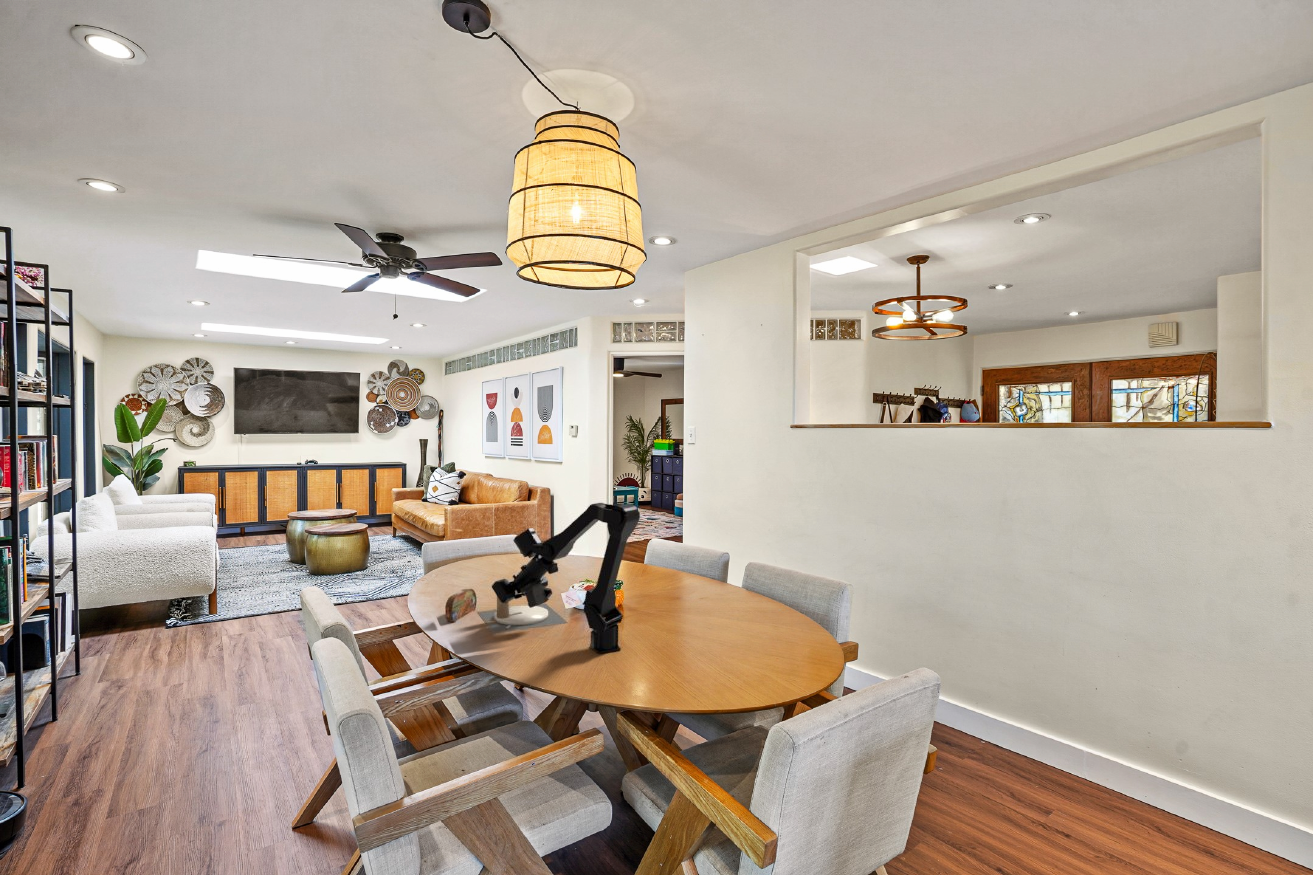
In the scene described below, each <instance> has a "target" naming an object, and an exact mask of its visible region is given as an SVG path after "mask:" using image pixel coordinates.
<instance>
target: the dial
mask: <svg viewBox="0 0 1313 875" xmlns="http://www.w3.org/2000/svg"><path fill="white" fill-rule="evenodd" d="M496 610H497V611H496V612H495V614H494V620H495V621H496V622H498V623H500V624H505V625H529V624H535V623H539V622H542V621H544V620H546V619H547V618H548V610H547V609H545V608H542V607H538V606H535V607H532V608H530V607H529V606H528V604H527V605H514V606H513V605H512V606H510V601H509V602H508V603H502V602H501V601H500V600H499V598H498V597H497V596H496Z"/></svg>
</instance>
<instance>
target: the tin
mask: <svg viewBox="0 0 1313 875" xmlns="http://www.w3.org/2000/svg"><path fill="white" fill-rule="evenodd" d="M477 603H478V602H477V593H476V591H475V589H473V588H464V589H461V590H459V591H458V592H456V593H454V594H452V595H450V596H449V597H448V598H447V600H446V602H445V612H444V613H445V619H446V621H447V623H456V622H457V621H459V620H460V619H462V618H464V617H465V616H468V615H469V614H470V613H472V612H475V611H476V608H477Z"/></svg>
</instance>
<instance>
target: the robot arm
mask: <svg viewBox="0 0 1313 875" xmlns="http://www.w3.org/2000/svg"><path fill="white" fill-rule="evenodd" d="M640 516H641V512H640V511H639V509H638V508H637V506H635V505H634V504H632V503H626V504H623V505H620V504H610V503H604V502H595V503H591V504H590V505H588V506H587V508H586V509H585V511H583V512H582V513H581V514H580V515H579V516H578V517H577V518H576V519H575V520H573V521H572V522H571V523H570V524H569V525H568V526H567V527H565V529H564V530H562V531H561V532H560V533H558V534H556V535H553V536H551V537H550V538H548V539H546V540H545V541H541V539H540V538H539V536H538V535H537V533H536V531H535V529H534V528H533V527H529V528H526V530H524V531H523V532H521V533H519V534H518V535H516V536H515V537H514V538H513V543H514V544H515V546H516V547H517V549H518V551H519V552H520V553H521V555H522V556H523V558H527V557H528V558H529V559H531V560H529V561H528V563H526V564H523V565H521V567H520V571H519V572H518V573H514V574H513V575H512V579H513V580H508V579H506V578H501V579H499V580H496V581H494V582H493V584H491V588H492V590H493V592H494V594H495V595H496V598H497V597H498V598H499V600H500V601H501V602H502V603H508V602H509V603H510V602H511V601H513V600H514V599H515V600H518V599H520V598H523V597H525V598H526V601H527V605H528V606H529V607H530V608H532V607H535V606H538V605H540V604H546V603H547V602H548V601H549V600H550V599H549V598H551V596H552V595H553V590H552V588H549V587H548V586H549V580H548V579H547V577H546V576H545V575H546V574H547V573H548V574H549V575H551V574H555V573H558V572H559V567H558V562H555V561H556V560H560V559H563V558H566V557H567V556H568V555H569V554H570V552H571V551H572V550H573V548H574V544H575V543H576V542H577V540H579V538H581V537H582V536H583V535H584V534H586V532H588V531H589V530H590V529H591V528H592V527H593V526H594V525H596V523H598V522H602V523H604V524H607V525H606V526H607V527H606V528H607V532H608V540H607V544H606V548H605V551H604V555H603V560H602V563H601V565H600V566H601V567H600V570H599V574H598V578H597V581H596V584H595V586H594V587H593V588H590V589H588V590H586V592H585V598H584V601H583V602H582V605H583V613H584V614H585V616H586V621H587V624H588V628H589V629H590V630H591V629H592V630H591V631H590V644H589V647H590V648H591V649H593V651H595V652H596V654H604V653H605V654H606V653H610V652H616V651H617V652H618V651H621V650H622V648H621V647H620V646H619V624H620V623H622V621H623V618H624V615H623V613H622V612H621V611H620V609H619V608H618V607H617V605H616V603H617V602H616V600H617V596H616V592H615V586H616V583H617V578H618V575H619V571H620V568H621V563H622V560H623V557H624V553H625V550H626V549H625V548H626V545H627V542H628V540H629V538H630V537H631V535H632V534H633V532H635V530H636V527H637V525H638V523H639V521H640V519H641V517H640Z"/></svg>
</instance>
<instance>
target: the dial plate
mask: <svg viewBox="0 0 1313 875" xmlns="http://www.w3.org/2000/svg"><path fill="white" fill-rule="evenodd" d="M538 607H542V608H545V609H547V610H548V618H547V619H546V620H544V621H542V622H539V623H535V624H529V625H505V624H500V623H498V622H496V621H495V620H494V614H495V612H496V611H497V609H491V610H481V611H477V612H476V613H477V615H479V617H480V618H481V619H482V621H483V622H484V623H485V625H486V626H487V628H488V629H489V630H490V632H491V634H499V633H506V632H507V633H508V632H513V631H519V630H528V629H535V628H542V627H551V626H558V625H563V624H569V623H568V621H567V620H566V619H565V618H563V617H562V616H561V615H560V614H559V613H557V612H556V611H555V610H554V609H552V608H551V607H550V606H549V605H548V604H547V603H543V604H540V605H538Z"/></svg>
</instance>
